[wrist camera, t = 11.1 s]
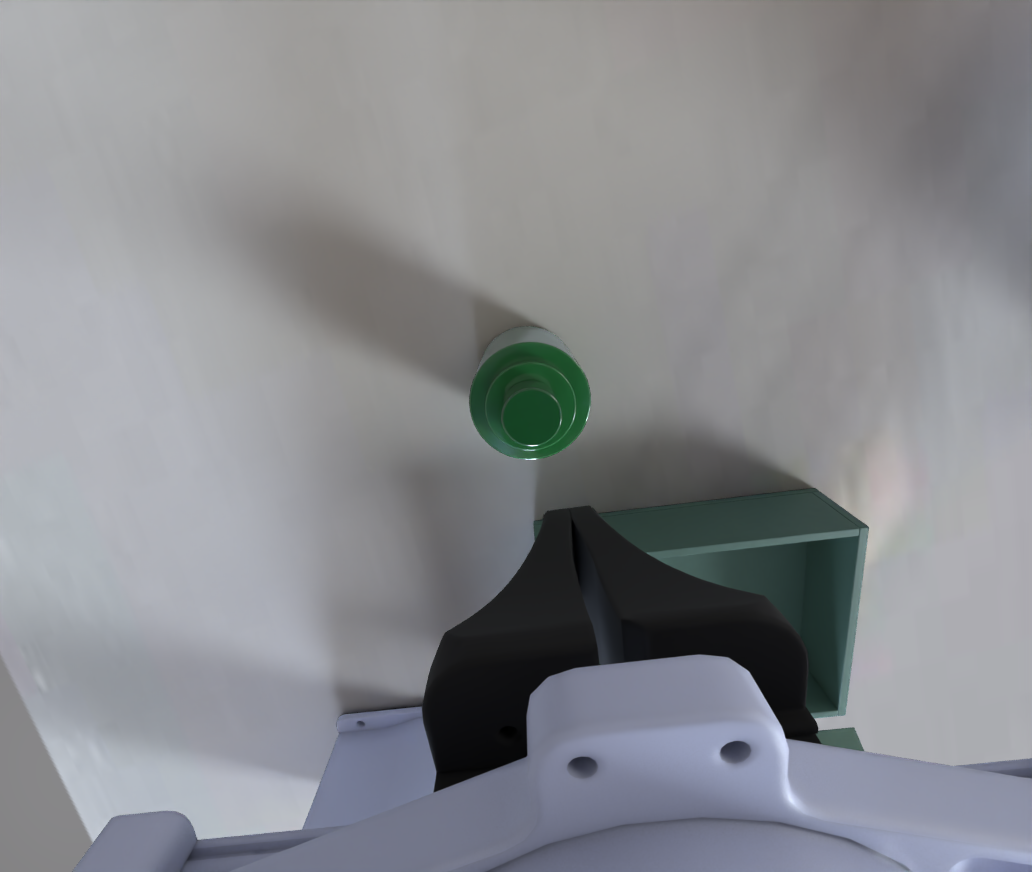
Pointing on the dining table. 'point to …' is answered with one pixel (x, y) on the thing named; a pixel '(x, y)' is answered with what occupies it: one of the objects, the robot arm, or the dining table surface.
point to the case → (771, 567)
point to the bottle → (529, 394)
